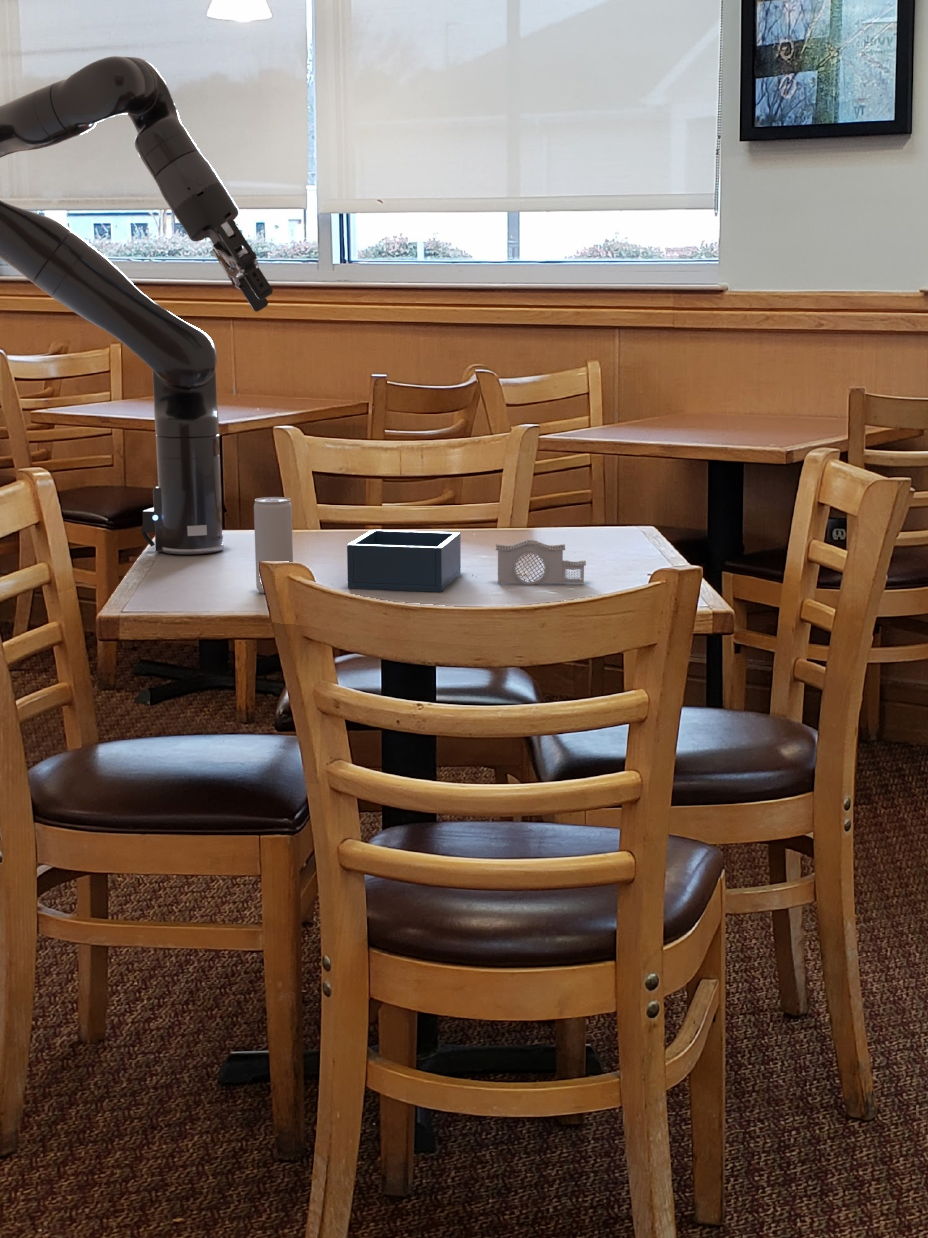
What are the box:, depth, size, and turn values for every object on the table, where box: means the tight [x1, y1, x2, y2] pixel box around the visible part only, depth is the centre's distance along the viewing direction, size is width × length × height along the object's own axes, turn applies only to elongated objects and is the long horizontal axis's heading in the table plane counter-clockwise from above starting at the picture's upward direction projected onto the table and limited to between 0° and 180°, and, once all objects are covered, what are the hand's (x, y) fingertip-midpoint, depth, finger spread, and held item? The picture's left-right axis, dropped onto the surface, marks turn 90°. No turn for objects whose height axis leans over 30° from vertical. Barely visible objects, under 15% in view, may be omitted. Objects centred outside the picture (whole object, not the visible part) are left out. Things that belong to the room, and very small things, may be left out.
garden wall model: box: [495, 539, 587, 586], centre depth 195 cm, size 12×2×6 cm, turn 90°
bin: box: [346, 529, 462, 593], centre depth 196 cm, size 13×13×6 cm
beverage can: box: [253, 496, 294, 594], centre depth 189 cm, size 5×5×12 cm
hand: (264, 302), depth 195 cm, fingers open, 8 cm apart
